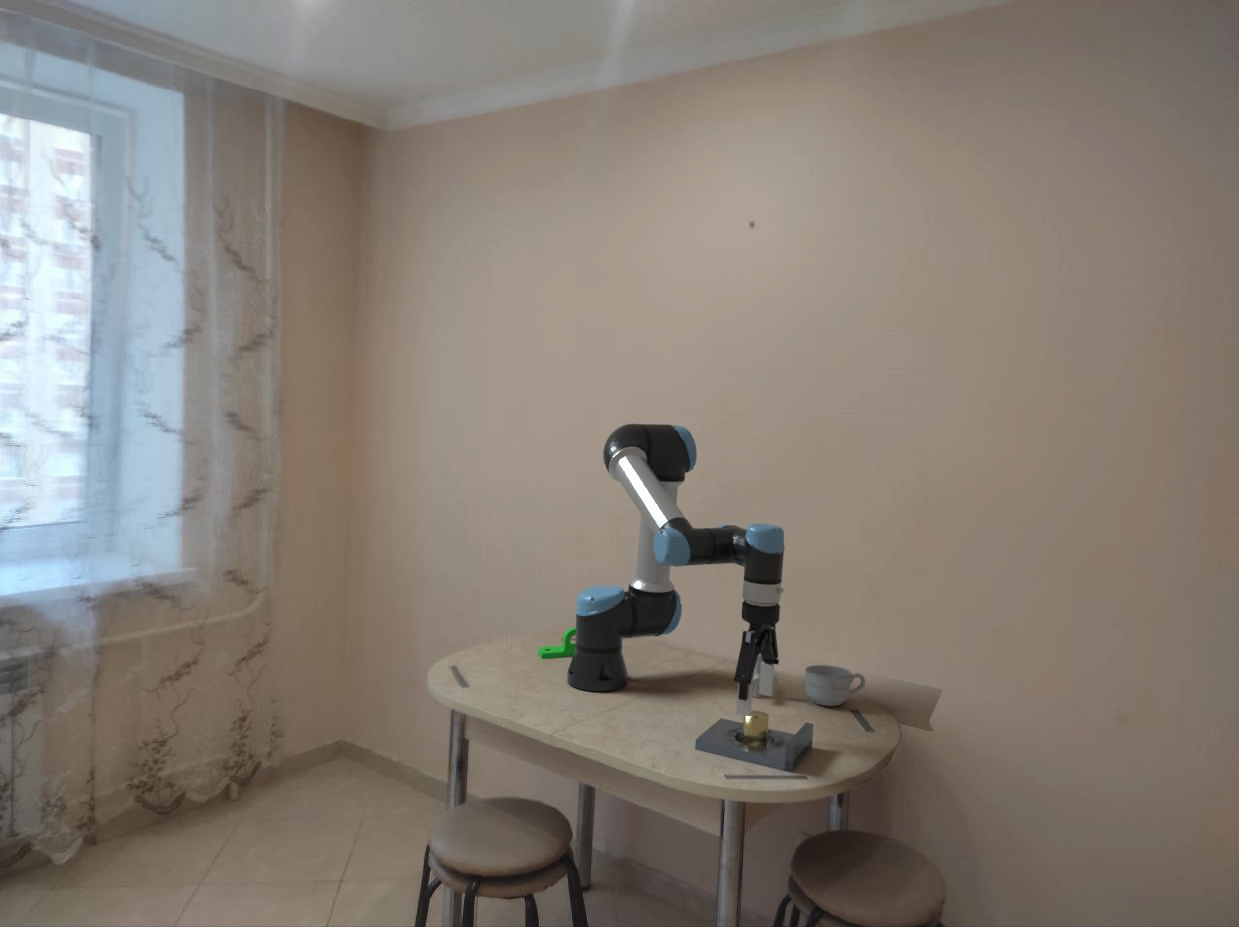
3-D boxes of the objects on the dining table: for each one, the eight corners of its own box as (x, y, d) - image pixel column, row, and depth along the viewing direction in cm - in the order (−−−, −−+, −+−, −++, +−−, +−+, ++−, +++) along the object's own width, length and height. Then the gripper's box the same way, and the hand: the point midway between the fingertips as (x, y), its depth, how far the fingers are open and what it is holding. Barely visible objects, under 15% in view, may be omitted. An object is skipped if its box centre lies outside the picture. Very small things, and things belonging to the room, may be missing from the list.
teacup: (800, 705, 195) (802, 672, 195) (806, 692, 205) (808, 660, 205) (862, 715, 190) (863, 680, 190) (865, 700, 201) (866, 668, 200)
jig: (695, 748, 167) (696, 724, 167) (720, 727, 180) (721, 704, 179) (792, 772, 158) (793, 746, 158) (812, 747, 170) (813, 723, 170)
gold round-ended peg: (738, 749, 168) (740, 715, 167) (746, 741, 172) (748, 708, 172) (762, 755, 165) (764, 721, 165) (770, 747, 170) (771, 713, 169)
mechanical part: (576, 651, 233) (577, 623, 233) (583, 657, 228) (584, 628, 227) (535, 654, 229) (536, 625, 229) (541, 660, 223) (542, 631, 223)
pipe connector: (777, 705, 195) (779, 663, 194) (734, 700, 197) (736, 659, 196) (778, 691, 205) (779, 651, 204) (737, 687, 207) (739, 648, 206)
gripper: (759, 617, 154) (752, 728, 156) (797, 593, 176) (790, 690, 178) (721, 611, 158) (714, 719, 159) (763, 587, 180) (757, 683, 181)
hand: (754, 704), depth 169 cm, fingers open, 13 cm apart
